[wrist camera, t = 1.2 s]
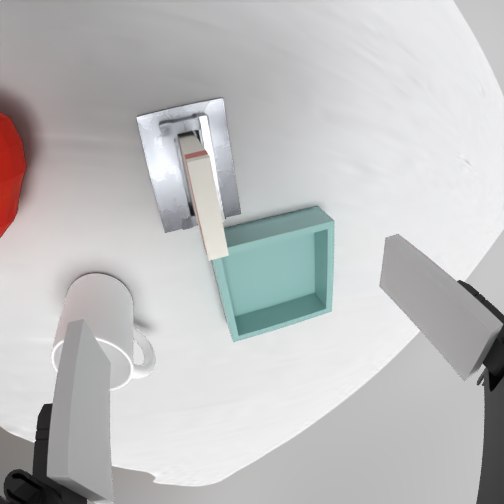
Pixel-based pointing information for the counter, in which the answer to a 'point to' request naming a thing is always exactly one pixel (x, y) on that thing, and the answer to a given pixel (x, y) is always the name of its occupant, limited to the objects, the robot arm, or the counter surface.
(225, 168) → the metal rectangular holder
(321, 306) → the tray
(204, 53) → the counter surface
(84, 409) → the robot arm
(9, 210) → the tomato
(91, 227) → the counter surface
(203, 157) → the cream red-striped panel
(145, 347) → the mug
